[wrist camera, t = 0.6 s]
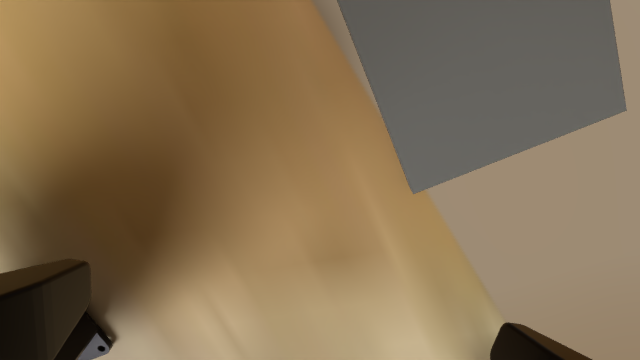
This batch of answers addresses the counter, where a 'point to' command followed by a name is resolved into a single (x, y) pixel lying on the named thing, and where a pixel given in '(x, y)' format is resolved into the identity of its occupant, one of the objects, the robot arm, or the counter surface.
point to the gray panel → (484, 76)
